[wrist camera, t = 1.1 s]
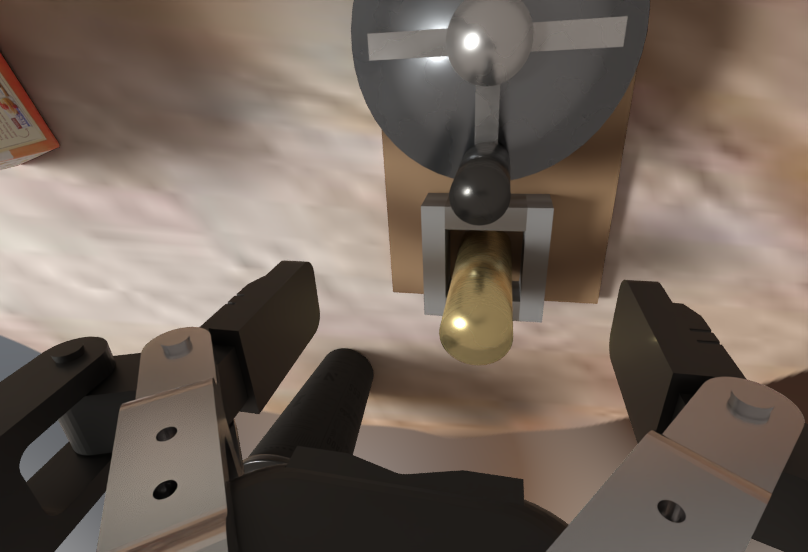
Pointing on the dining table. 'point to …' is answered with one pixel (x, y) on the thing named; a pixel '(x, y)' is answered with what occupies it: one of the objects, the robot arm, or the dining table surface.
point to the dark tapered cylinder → (320, 412)
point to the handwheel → (494, 84)
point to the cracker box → (20, 123)
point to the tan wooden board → (512, 224)
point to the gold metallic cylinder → (480, 300)
